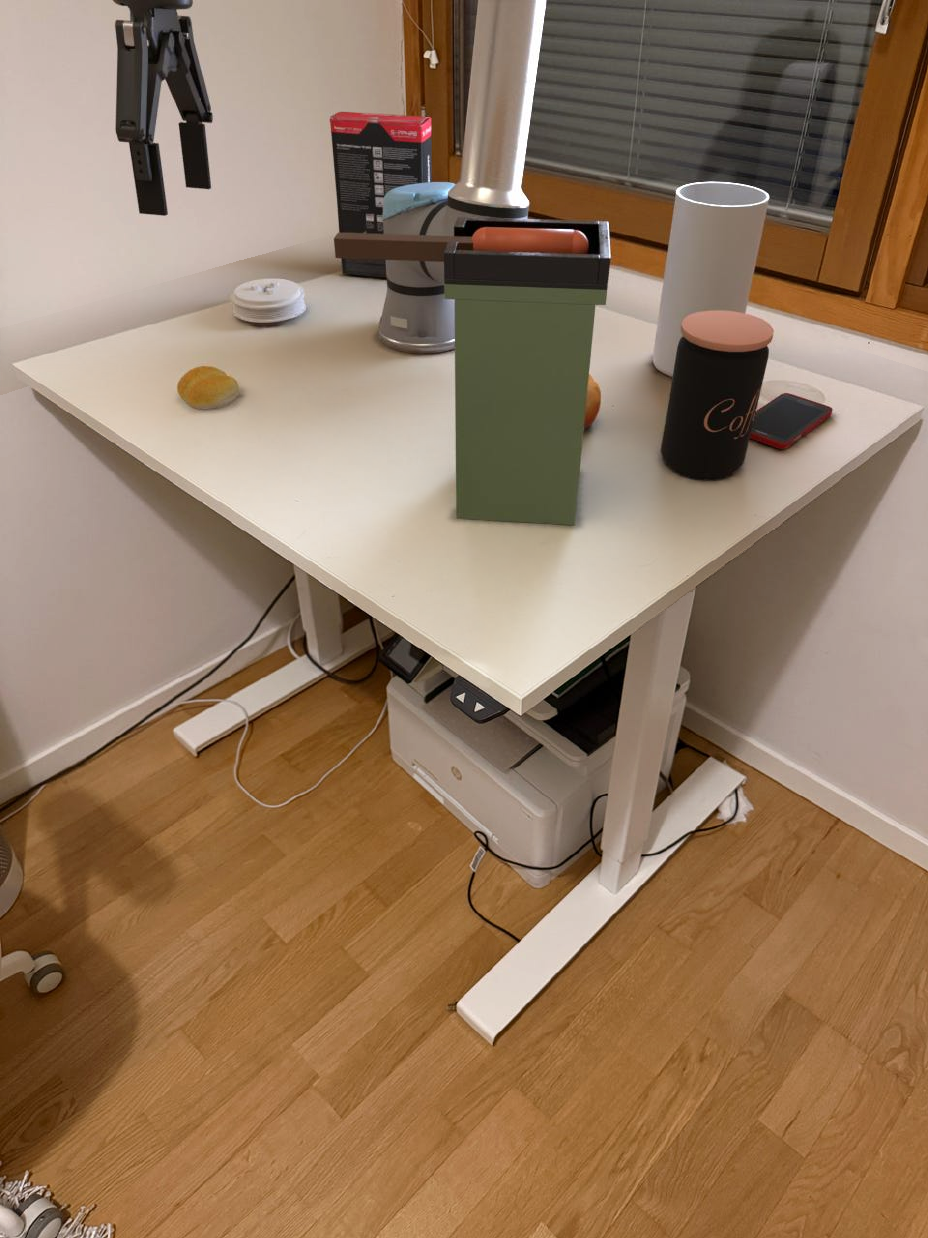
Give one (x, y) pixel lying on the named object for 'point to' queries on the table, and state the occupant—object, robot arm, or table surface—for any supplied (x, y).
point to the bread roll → (207, 388)
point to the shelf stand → (520, 399)
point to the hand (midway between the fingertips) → (177, 200)
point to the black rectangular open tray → (530, 258)
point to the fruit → (592, 402)
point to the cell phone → (787, 420)
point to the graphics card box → (375, 171)
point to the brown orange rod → (480, 241)
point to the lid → (268, 300)
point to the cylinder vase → (708, 257)
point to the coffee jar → (714, 393)
